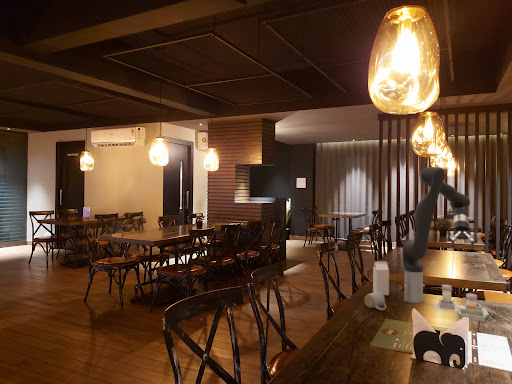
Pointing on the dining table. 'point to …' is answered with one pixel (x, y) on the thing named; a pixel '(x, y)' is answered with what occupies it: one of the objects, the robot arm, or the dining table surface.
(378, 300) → the ceramic mug
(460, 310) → the parts tray
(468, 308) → the ball
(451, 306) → the fuse board
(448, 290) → the fuse
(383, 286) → the milk carton
